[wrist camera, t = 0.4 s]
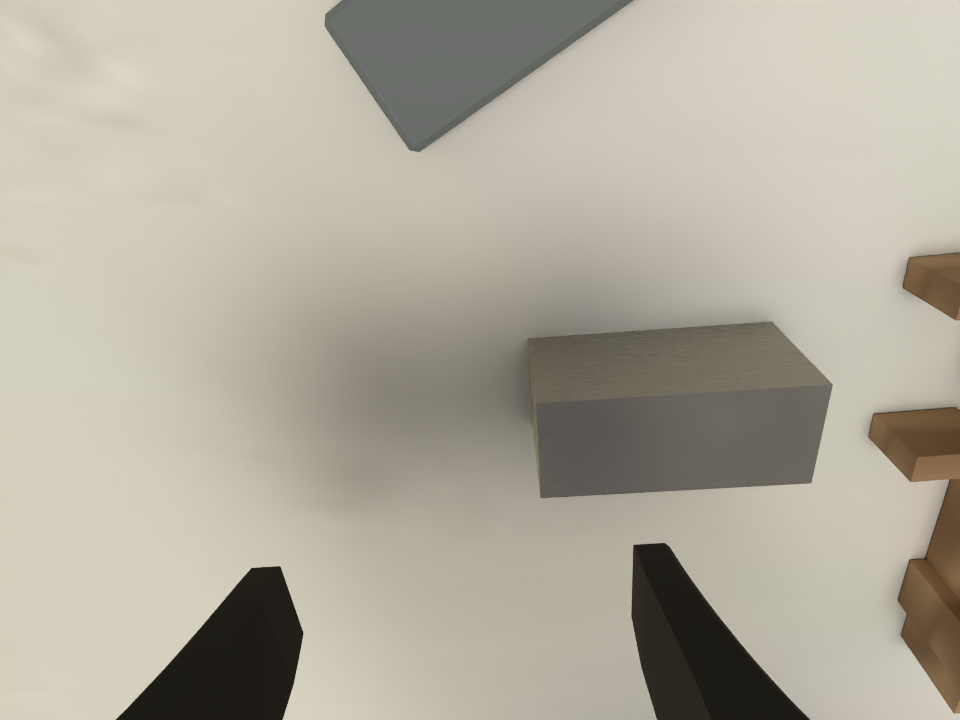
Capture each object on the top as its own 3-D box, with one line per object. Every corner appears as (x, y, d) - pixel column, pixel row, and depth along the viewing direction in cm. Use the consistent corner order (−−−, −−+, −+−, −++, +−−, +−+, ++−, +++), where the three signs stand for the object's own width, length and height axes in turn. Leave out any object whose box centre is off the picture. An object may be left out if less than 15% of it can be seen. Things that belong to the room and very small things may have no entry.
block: (756, 406, 22) (811, 482, 18) (532, 420, 22) (540, 498, 19) (770, 320, 20) (832, 384, 16) (527, 336, 21) (535, 403, 17)
